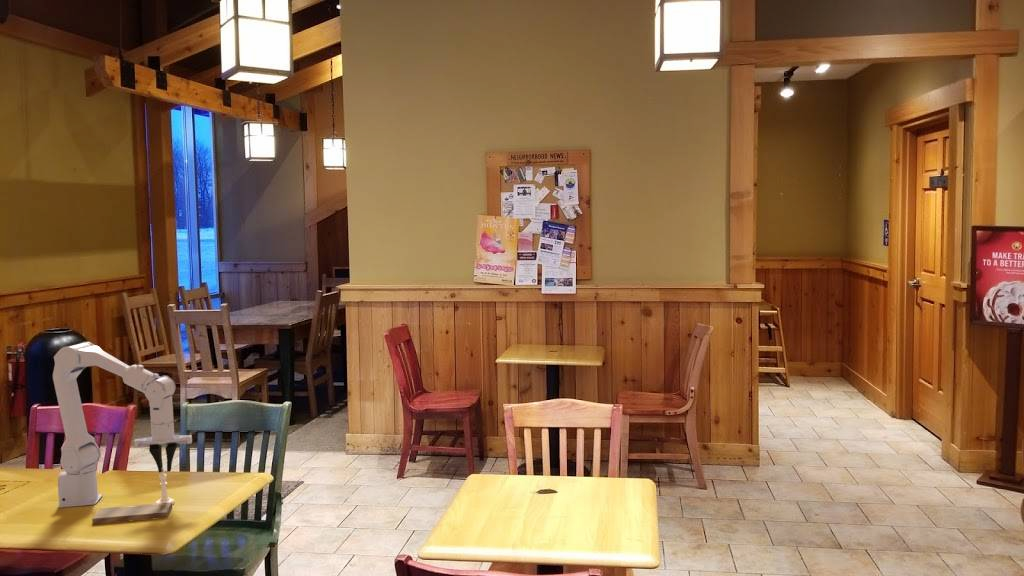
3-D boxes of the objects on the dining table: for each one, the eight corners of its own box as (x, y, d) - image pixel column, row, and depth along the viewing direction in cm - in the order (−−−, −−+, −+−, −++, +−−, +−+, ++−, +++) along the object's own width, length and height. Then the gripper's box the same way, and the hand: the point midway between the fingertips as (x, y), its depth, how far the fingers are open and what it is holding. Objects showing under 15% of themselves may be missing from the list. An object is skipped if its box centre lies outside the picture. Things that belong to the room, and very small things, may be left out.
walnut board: (92, 524, 222) (92, 518, 222) (100, 513, 230) (99, 508, 230) (166, 517, 226) (166, 511, 226) (172, 507, 234) (171, 501, 233)
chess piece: (171, 506, 235) (168, 470, 234) (152, 507, 234) (150, 471, 233) (177, 500, 239) (174, 465, 239) (158, 501, 239) (156, 466, 238)
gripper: (130, 427, 230) (133, 477, 231) (188, 423, 233) (190, 472, 234) (136, 421, 237) (139, 469, 238) (192, 417, 240) (194, 465, 241)
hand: (165, 470), depth 236 cm, fingers closed
